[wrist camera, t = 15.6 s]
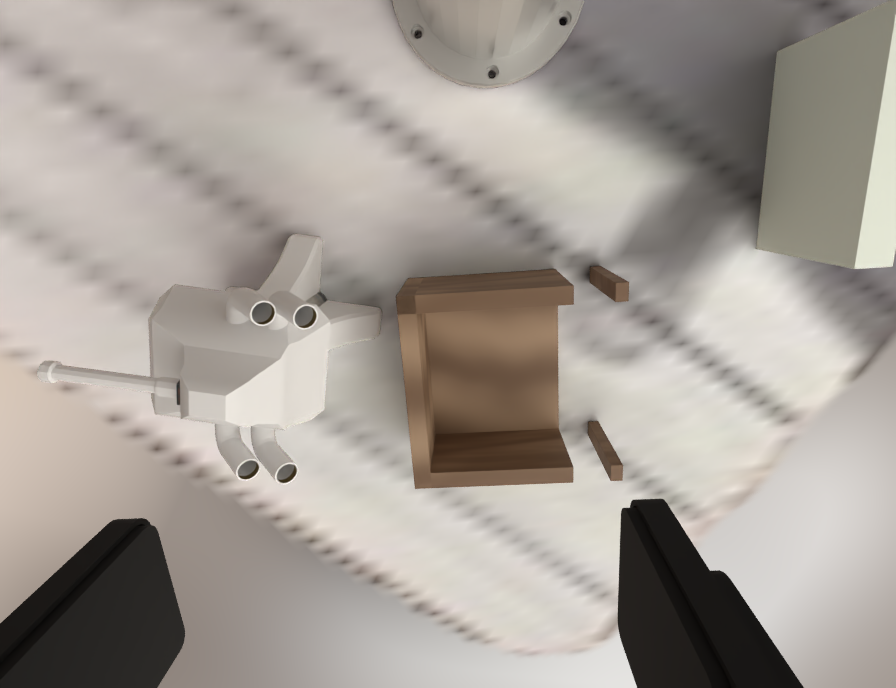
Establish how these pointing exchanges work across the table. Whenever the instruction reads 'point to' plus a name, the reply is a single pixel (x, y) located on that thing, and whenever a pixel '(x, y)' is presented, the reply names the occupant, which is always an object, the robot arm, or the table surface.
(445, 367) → the box
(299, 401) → the toy gun turret
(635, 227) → the table surface
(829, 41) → the cover plate
